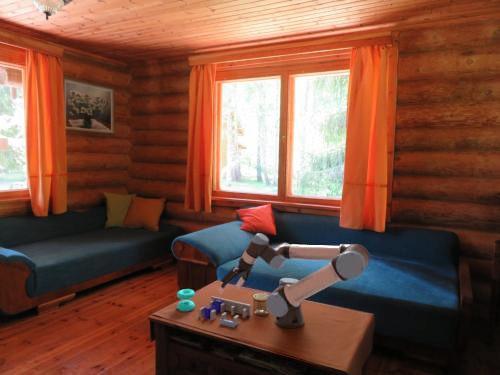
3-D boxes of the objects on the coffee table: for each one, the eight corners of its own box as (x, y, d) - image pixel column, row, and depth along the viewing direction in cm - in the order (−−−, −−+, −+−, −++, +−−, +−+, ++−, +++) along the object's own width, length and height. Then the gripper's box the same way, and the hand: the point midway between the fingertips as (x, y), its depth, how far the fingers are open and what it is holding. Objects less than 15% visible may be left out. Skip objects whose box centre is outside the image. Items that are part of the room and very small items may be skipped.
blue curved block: (214, 309, 209) (215, 299, 208) (221, 311, 207) (221, 300, 206) (202, 317, 199) (202, 306, 198) (208, 319, 196) (208, 308, 196)
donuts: (185, 296, 201) (173, 292, 207) (185, 314, 202) (173, 309, 208) (198, 291, 209) (186, 286, 215) (198, 307, 210) (186, 303, 216)
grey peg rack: (250, 315, 202) (250, 304, 201) (236, 328, 187) (236, 316, 186) (212, 306, 213) (212, 296, 212) (196, 317, 198) (196, 306, 197)
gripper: (258, 252, 199) (239, 281, 206) (227, 257, 180) (208, 288, 187) (266, 262, 195) (247, 290, 202) (236, 267, 176) (217, 299, 183)
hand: (228, 289), depth 194 cm, fingers open, 13 cm apart
